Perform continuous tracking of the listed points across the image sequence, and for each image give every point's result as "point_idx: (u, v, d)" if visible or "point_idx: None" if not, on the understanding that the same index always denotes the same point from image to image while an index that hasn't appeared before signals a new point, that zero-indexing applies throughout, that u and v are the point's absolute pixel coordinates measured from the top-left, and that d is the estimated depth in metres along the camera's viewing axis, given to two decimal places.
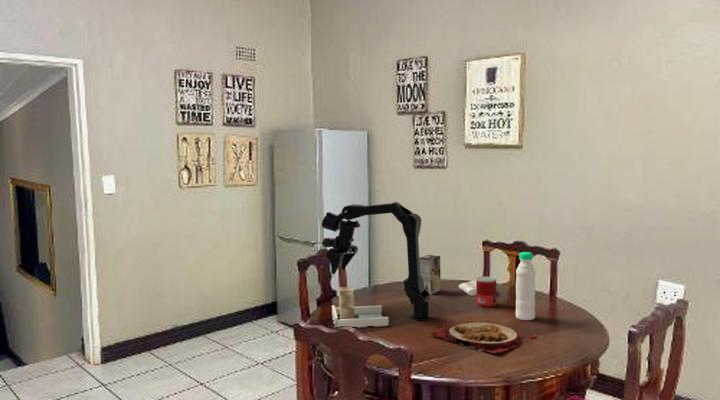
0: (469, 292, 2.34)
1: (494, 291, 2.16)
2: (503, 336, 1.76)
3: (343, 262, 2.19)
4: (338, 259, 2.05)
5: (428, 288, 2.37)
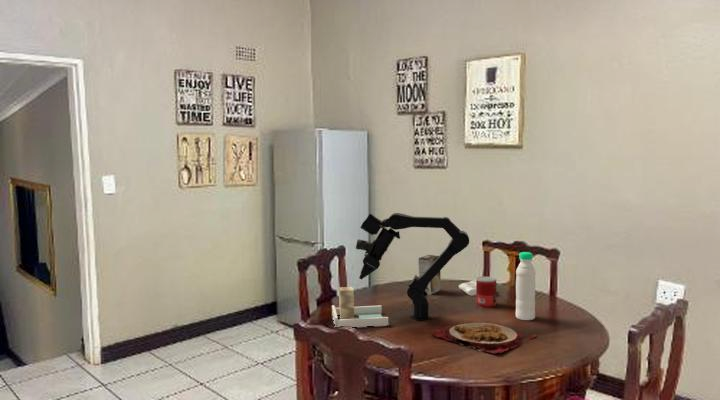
0: (469, 292, 2.34)
1: (494, 291, 2.16)
2: (503, 336, 1.76)
3: None
4: (377, 267, 1.95)
5: (428, 288, 2.37)
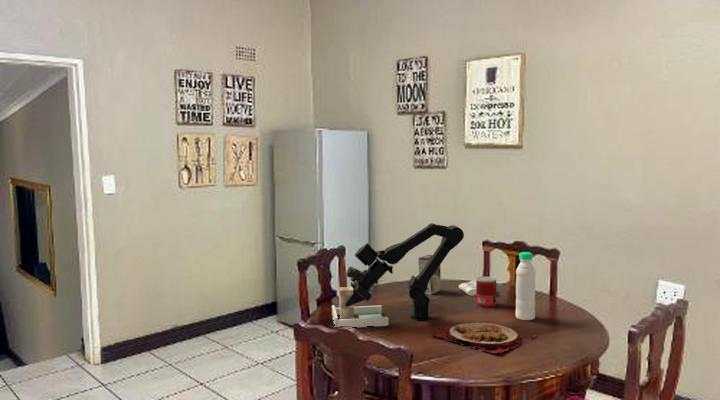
0: (469, 292, 2.34)
1: (494, 291, 2.16)
2: (503, 336, 1.76)
3: None
4: (368, 299, 1.92)
5: (428, 288, 2.37)
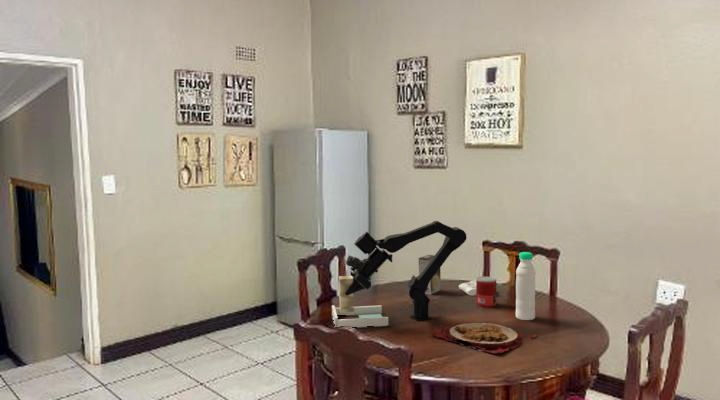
0: (469, 292, 2.34)
1: (494, 291, 2.16)
2: (503, 336, 1.76)
3: None
4: (368, 288, 1.92)
5: (428, 288, 2.37)
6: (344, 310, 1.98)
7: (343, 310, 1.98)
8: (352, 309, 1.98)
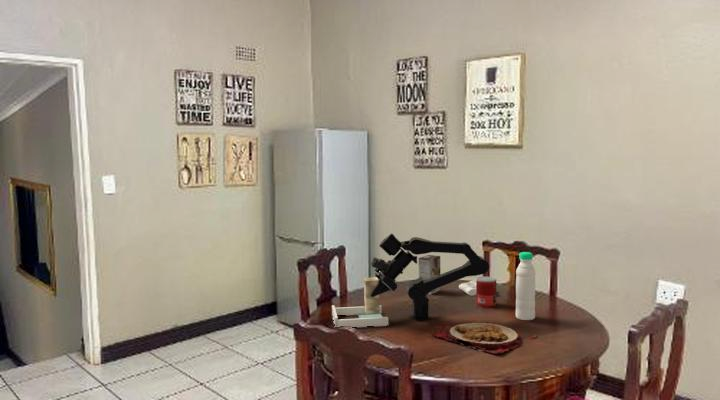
0: (469, 292, 2.34)
1: (494, 291, 2.16)
2: (504, 336, 1.76)
3: None
4: (394, 289, 1.93)
5: None
6: (369, 311, 1.99)
7: (369, 311, 1.99)
8: (378, 310, 2.00)
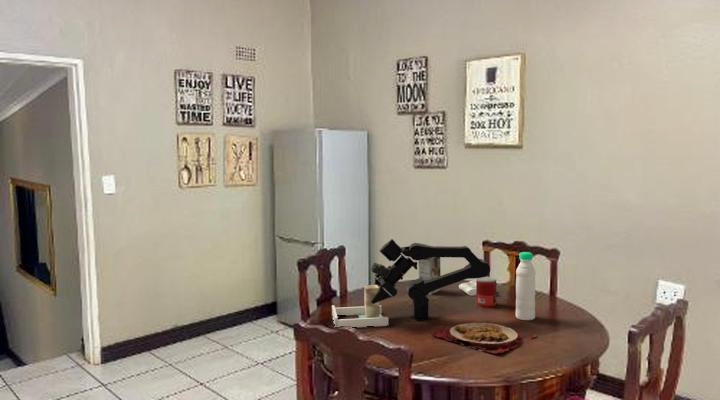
0: (469, 292, 2.34)
1: (494, 291, 2.16)
2: (504, 336, 1.76)
3: None
4: (394, 295, 1.93)
5: None
6: None
7: None
8: None
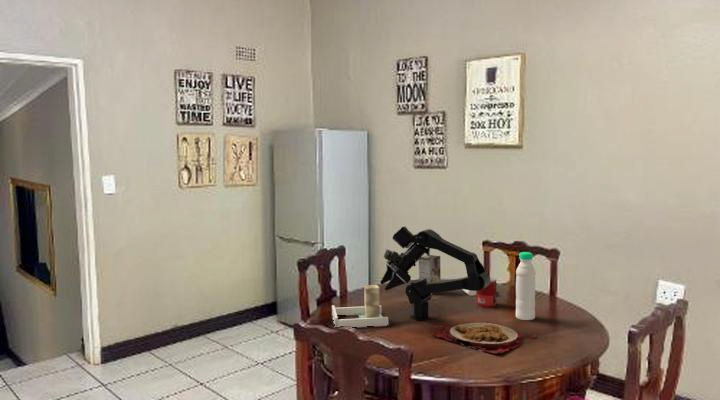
0: (469, 292, 2.34)
1: (494, 291, 2.16)
2: (504, 336, 1.76)
3: (385, 277, 2.06)
4: (408, 281, 1.93)
5: None
6: None
7: None
8: None
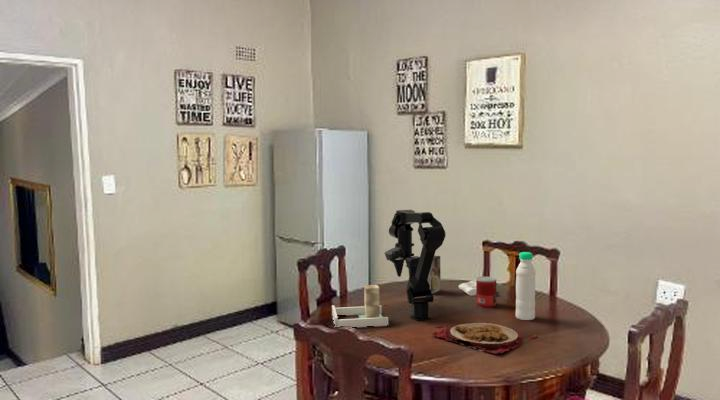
0: (469, 292, 2.33)
1: (494, 291, 2.16)
2: (504, 336, 1.76)
3: (398, 269, 2.20)
4: None
5: None
6: None
7: None
8: None
